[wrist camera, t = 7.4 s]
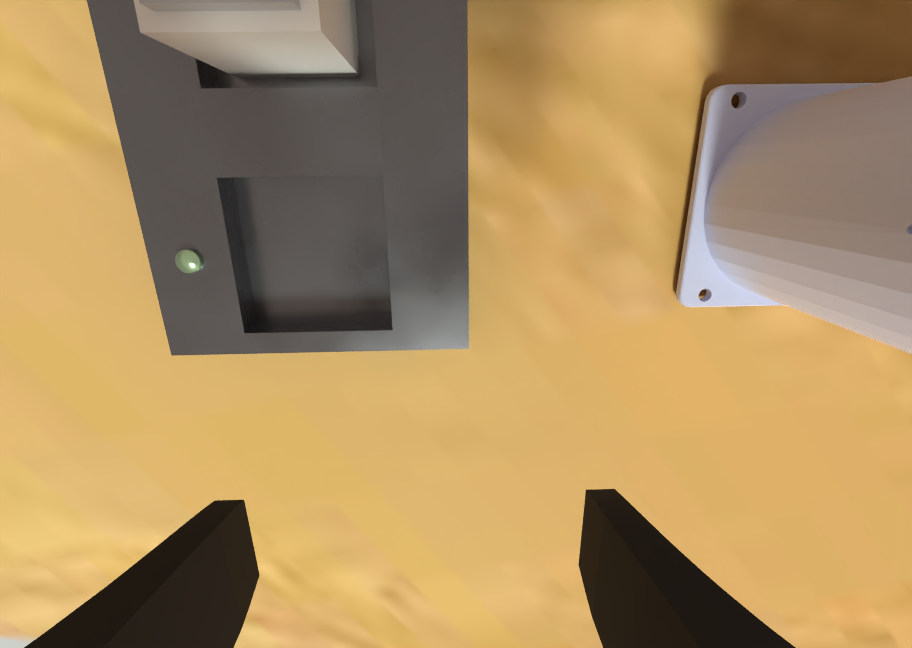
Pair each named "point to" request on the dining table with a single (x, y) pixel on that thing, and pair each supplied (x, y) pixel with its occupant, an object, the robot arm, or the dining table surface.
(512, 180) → the dining table surface
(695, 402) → the dining table surface
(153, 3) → the beige rectangular block
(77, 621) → the robot arm
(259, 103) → the panel
